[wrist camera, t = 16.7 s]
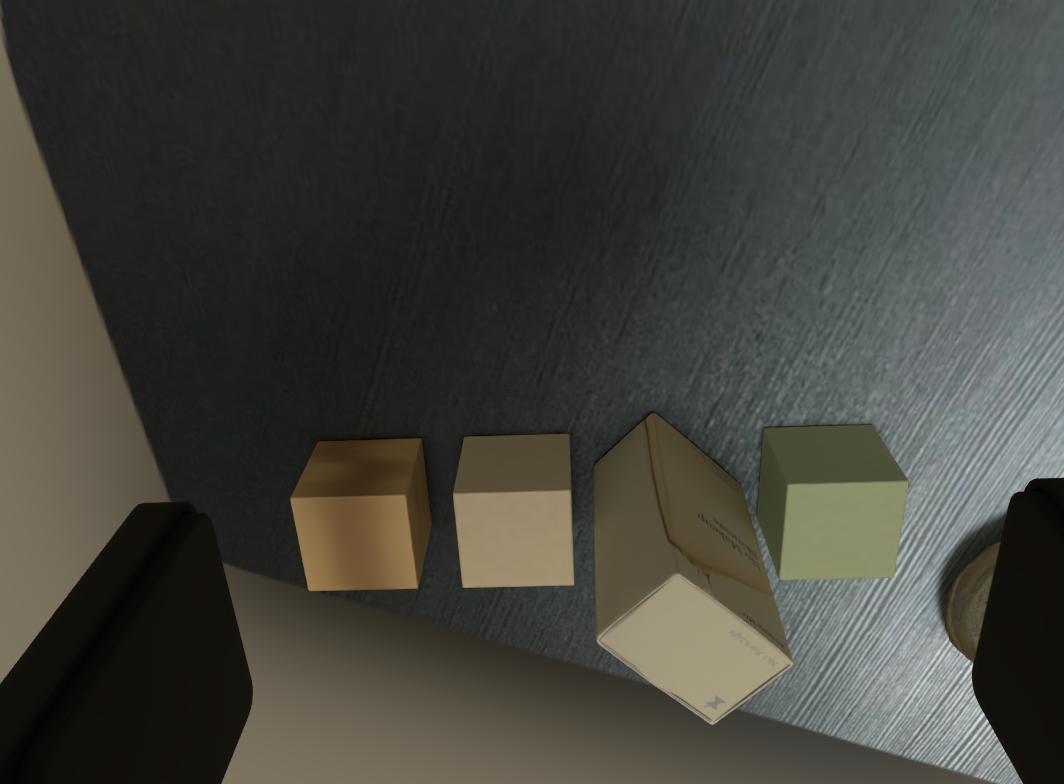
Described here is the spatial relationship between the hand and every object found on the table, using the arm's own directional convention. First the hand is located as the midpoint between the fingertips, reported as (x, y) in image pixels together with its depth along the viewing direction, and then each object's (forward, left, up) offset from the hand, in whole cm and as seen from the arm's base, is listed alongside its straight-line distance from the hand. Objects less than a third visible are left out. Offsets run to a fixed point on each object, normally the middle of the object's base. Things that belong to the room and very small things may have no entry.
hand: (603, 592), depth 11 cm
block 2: (-3, -16, -28) cm, 33 cm away
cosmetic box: (+4, -16, -28) cm, 33 cm away
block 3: (+11, -16, -28) cm, 34 cm away
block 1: (-10, -16, -28) cm, 34 cm away
